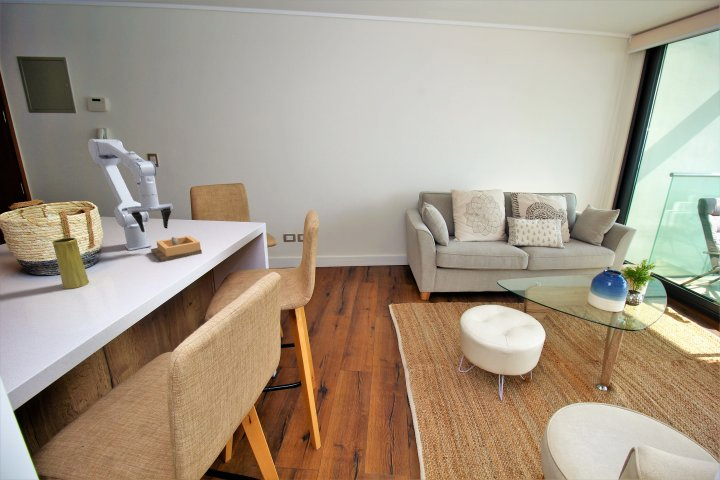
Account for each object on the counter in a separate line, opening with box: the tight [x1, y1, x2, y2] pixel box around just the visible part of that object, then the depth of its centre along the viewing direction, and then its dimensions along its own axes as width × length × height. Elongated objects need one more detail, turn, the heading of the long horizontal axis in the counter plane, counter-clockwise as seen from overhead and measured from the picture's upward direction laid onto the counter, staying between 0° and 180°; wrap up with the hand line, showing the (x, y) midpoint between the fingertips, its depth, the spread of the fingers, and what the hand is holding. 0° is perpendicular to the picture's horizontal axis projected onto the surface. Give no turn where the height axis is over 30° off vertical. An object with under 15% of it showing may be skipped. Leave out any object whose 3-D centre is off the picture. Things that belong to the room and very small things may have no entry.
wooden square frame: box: [156, 235, 202, 256], centre depth 125 cm, size 12×12×3 cm
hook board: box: [150, 236, 203, 263], centre depth 124 cm, size 14×14×6 cm
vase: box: [52, 237, 90, 290], centre depth 95 cm, size 6×6×14 cm
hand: (154, 229), depth 122 cm, fingers open, 7 cm apart
